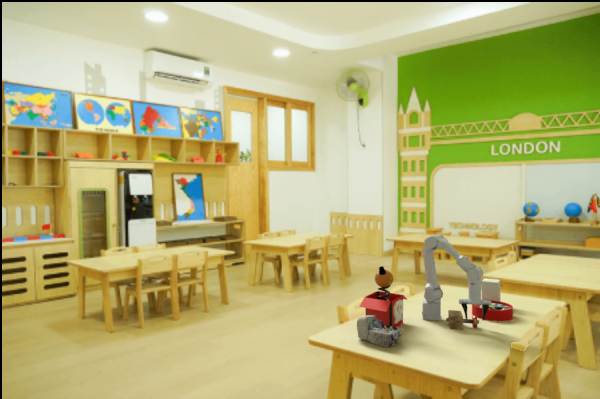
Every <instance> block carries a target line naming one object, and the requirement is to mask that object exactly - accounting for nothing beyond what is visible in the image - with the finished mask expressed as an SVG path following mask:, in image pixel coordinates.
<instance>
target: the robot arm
mask: <svg viewBox="0 0 600 399" xmlns="http://www.w3.org/2000/svg"><path fill="white" fill-rule="evenodd" d="M422 246H423V247H422V249H421V250H422V258H423V263H424V264H423V266H424V272H425V279H426V285H425V287H424V294H423V298H424V299H425V300H422V311H421V315H422V320H424V321H425V320H426V321H427V320H428V321H440V322H441V321H443V319H442V312H441V311H442V308H441V304H442V302H441V300H442V298H443V297H444V293H443V290H442V288H441V284H440V283H439V282H438V276H437V268H436V261H435V254H434V252H435V251H437V249H438V250H444V251H445V252H447V254H448V255H450V256H451V257H452V258H453V259H455V261H456V262H455V263H456V265H458V267H459V268H460V269H462V271H464V272H465V273H466V277H467V278H468V298H466V299H465V298H464V299H460V298H459V299H458V305H461V307H462V309H463V312H464V317H465V318H464V319H468V305H472V304H473V305H482V319H481V320H482V321H485V320H484V318H485V315H486V313H487V311H488V309H489V306H491V301H485V300H482V277H483V275H484V270H483V269H482V267H481V266H477V264H475V263H473V262H472V261H471V260H470V257H469V256H466V255H461V254H460V252H459V251H458V250H457V249H456V248H455V247H454V246H453V245H452V244H451V243H450V242H449V240H448V238H446V237H445V236H444V235H443V234H442V233H437V234H433V235H432V234H431V235H428V236H427V237H426V238H425V239H424V245H422Z"/></svg>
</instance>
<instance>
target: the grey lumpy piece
mask: <svg viewBox="0 0 600 399" xmlns="http://www.w3.org/2000/svg"><path fill="white" fill-rule="evenodd" d="M356 329H357V337H358V338H359V339H360V340H364V341H367V342H369V343H370V344H373V343H374V345H376V344H377V345H376V346H380V345H381V347H384V348H385V347H386V348H388V347H390V346H393V345H394V346H395V345H396V343H397V342H398V341H401V338H400V337H402V336H403V334H401V333H402V332H404V329H403V328H401V327H400V326H399V327H396V325H395V324H393V325H392V326H389V324H387V325H386V326H385V325H384V324H383V322H382V321H381V320H377V318H376V316H375V315H367V316H366V315H364V316H362V317H359V318H358V319H357V320H356Z"/></svg>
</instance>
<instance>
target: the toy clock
mask: <svg viewBox="0 0 600 399" xmlns="http://www.w3.org/2000/svg"><path fill="white" fill-rule="evenodd" d="M485 301H491V306H489V309H488V311H487V313H486V315H485V318H484V320H483V321H490V322H507V321H511V320H513V319H514V318H513V317H514V312H513V311H514V309H513V308H514V307H513V305H512V304H510V303H507V302H503V301H501V300H500V301H493V300H485ZM471 315H474V316H477V319H480V320H482V305H473V304H471Z"/></svg>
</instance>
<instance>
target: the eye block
mask: <svg viewBox="0 0 600 399" xmlns="http://www.w3.org/2000/svg"><path fill="white" fill-rule="evenodd" d="M447 316H448V317H447V318H449V322H448V327H449V329H450V330H456V331H457V330H458V331H463V330H464V323H463V319H464V316H463V313H462V311H461V310H453V309H451V310H450V309H448V315H447Z"/></svg>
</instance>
